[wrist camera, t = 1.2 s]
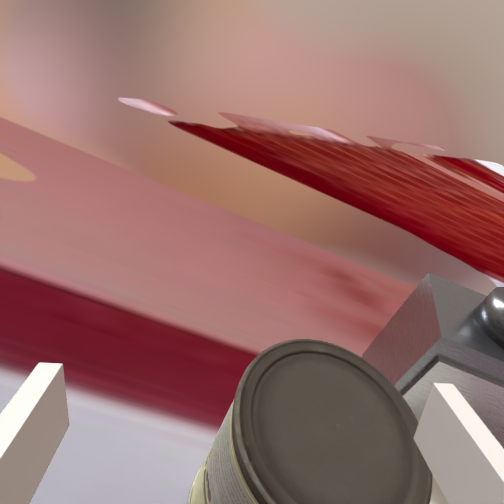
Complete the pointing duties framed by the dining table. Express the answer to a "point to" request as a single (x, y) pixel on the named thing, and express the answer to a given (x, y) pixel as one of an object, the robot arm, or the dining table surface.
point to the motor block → (446, 348)
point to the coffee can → (314, 435)
